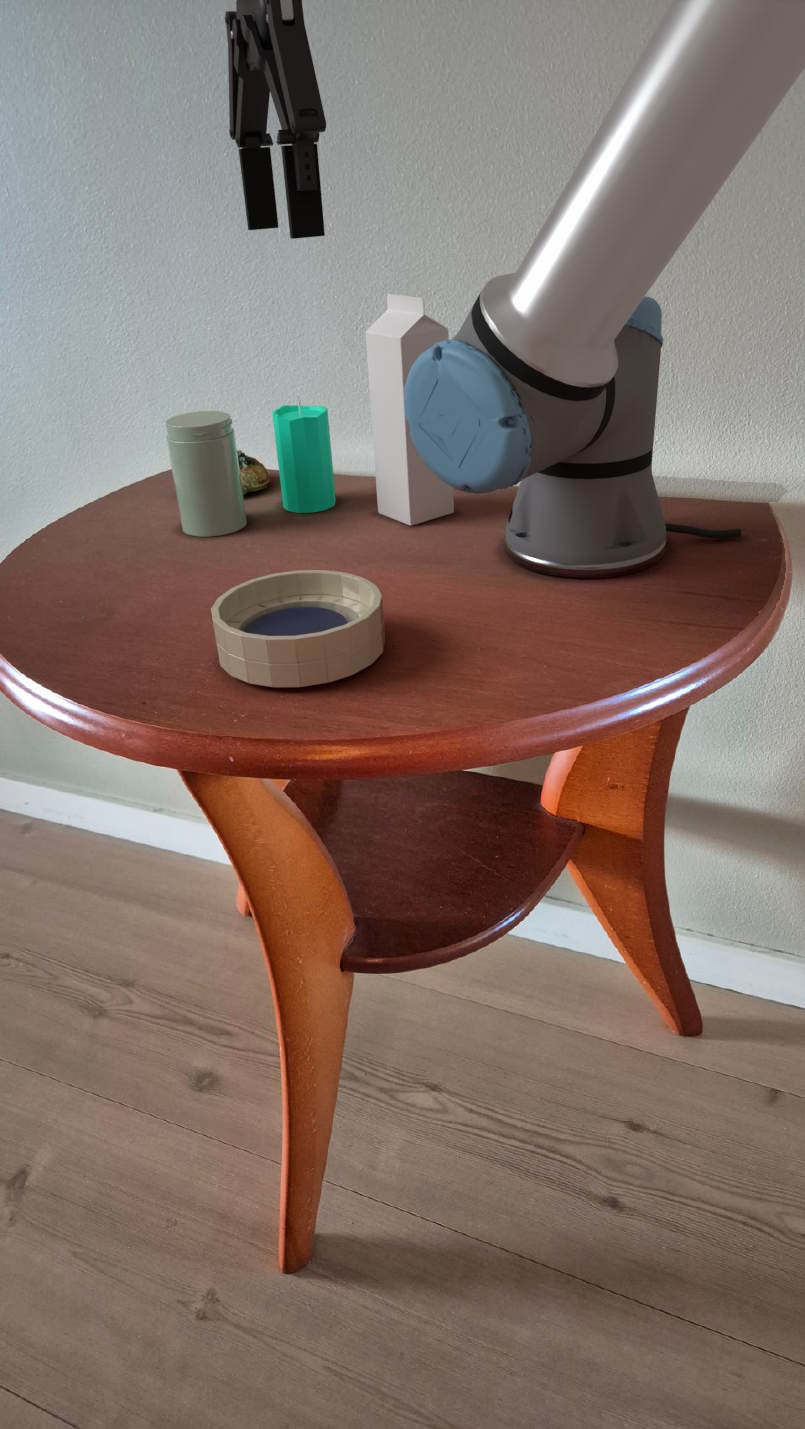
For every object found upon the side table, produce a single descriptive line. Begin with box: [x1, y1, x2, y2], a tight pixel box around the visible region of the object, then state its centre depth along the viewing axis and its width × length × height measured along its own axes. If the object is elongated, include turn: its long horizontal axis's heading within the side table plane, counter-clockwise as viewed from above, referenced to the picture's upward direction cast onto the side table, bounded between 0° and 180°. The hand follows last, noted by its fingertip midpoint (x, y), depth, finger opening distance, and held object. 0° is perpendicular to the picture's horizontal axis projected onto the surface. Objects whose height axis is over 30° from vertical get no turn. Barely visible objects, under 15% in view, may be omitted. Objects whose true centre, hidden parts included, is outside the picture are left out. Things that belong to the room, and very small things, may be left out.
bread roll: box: [237, 449, 271, 496], centre depth 118 cm, size 11×11×5 cm
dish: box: [210, 569, 386, 688], centre depth 78 cm, size 13×13×4 cm
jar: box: [165, 410, 248, 538], centre depth 105 cm, size 7×7×12 cm
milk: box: [365, 293, 455, 527], centre depth 102 cm, size 6×6×22 cm
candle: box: [271, 395, 337, 514], centre depth 109 cm, size 6×6×12 cm
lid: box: [246, 607, 348, 636], centre depth 79 cm, size 8×8×2 cm
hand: (284, 233), depth 86 cm, fingers open, 13 cm apart
